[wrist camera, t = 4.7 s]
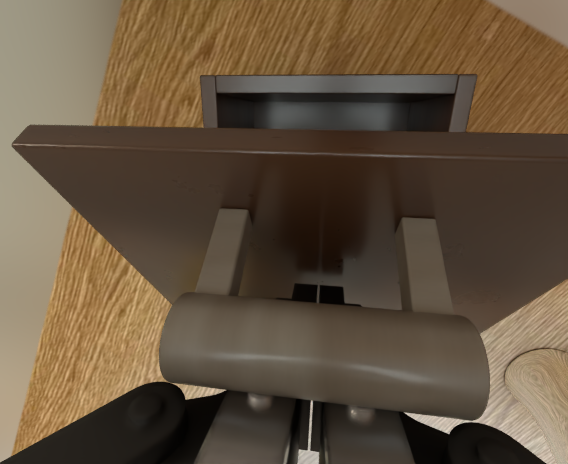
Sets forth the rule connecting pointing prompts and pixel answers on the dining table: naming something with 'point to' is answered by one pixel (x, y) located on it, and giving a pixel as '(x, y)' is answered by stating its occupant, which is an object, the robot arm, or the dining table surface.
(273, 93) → the chest
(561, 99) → the dining table surface
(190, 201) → the lid
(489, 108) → the dining table surface
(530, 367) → the beer glass
